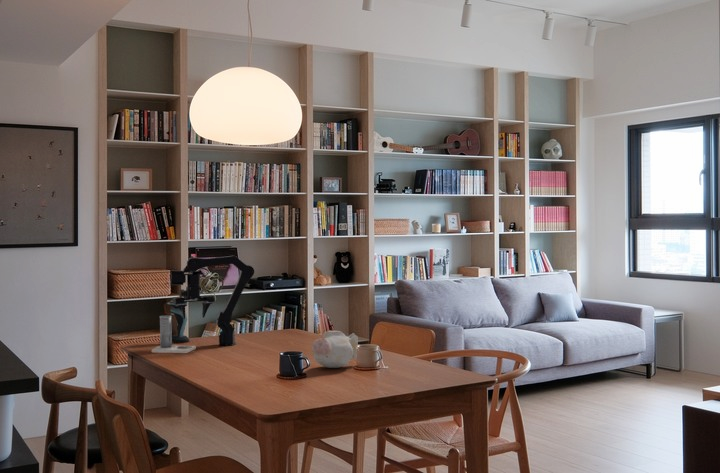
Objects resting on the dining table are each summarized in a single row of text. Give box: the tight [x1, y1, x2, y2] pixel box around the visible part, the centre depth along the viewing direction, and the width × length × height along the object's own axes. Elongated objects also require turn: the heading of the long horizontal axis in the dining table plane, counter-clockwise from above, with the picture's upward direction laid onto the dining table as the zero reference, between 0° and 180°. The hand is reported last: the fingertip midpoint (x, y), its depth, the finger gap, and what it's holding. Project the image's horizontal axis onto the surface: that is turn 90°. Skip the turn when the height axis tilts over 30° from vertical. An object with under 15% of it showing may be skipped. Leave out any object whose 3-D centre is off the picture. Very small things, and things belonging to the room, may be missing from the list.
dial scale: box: [151, 345, 197, 354], centre depth 350 cm, size 16×12×2 cm
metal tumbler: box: [159, 314, 173, 348], centre depth 349 cm, size 5×5×14 cm
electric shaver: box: [163, 300, 190, 344], centre depth 374 cm, size 9×12×20 cm
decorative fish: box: [311, 330, 359, 369], centre depth 304 cm, size 16×19×15 cm
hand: (193, 318), depth 360 cm, fingers open, 9 cm apart
